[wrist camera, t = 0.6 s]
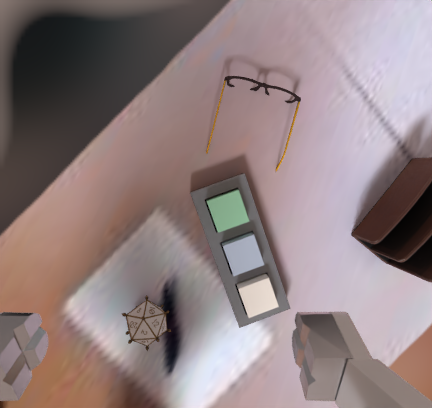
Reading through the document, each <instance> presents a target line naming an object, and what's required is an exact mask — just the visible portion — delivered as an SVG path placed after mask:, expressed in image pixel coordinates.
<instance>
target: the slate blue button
mask: <svg viewBox="0 0 432 408" xmlns="http://www.w3.org/2000/svg"><path fill="white" fill-rule="evenodd" d="M221 243H222V245H223V248H224V251H225V254H226V257H227V259H228V262H229V265H230V268H231V271H232V273H233V276H236V275H239V274H241V273H244V272H247V271H249V270H252V269H255V268H257V267H260V266H263V265H264V262H263V259H262V256H261V254H260V251H259V248H258V245H257V242H256V239H255V236H254V234H253V233H252V232H248V233H245V234H243V235H240V236H237V237H234V238H232V239H229V240H226V241H223V242H221Z"/></svg>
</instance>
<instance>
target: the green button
mask: <svg viewBox="0 0 432 408" xmlns="http://www.w3.org/2000/svg"><path fill="white" fill-rule="evenodd" d="M206 201H207V204H208V207H209V209H210V212H211V215H212V218H213V220H214V223H215V226H216V229H217V231H218V233H219V232H222V231H224V230H227V229H230V228H233V227H235V226H238V225H241V224H244V223H246V222H249V219H248V216H247V213H246V210H245V207H244V204H243V201H242V198H241V195H240V193H239V190H237V189H235V190H232V191H230V192H227V193H224V194H221V195H219V196H216V197H213V198H210V199H207V200H206Z"/></svg>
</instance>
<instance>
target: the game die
mask: <svg viewBox="0 0 432 408" xmlns="http://www.w3.org/2000/svg"><path fill="white" fill-rule="evenodd" d="M145 299H146V301H144V302H143V303H142V304H140V305H139V306H136V308H135V309H133V310H132V311H131V312H129V313H128V314H126V313H122V315H123V316H126V319H127V324H128V330H129V331H127V332H126V334H130V337H131V340H129V341H128V344H129V343H131V342H132V341H135V342H138V343H140V344H143V345H146V350H147V351H148V349H149V347H148V346H149V345H150V344H151V343H152V342H154V341H155V340H156V341H157V342H159V340H160V339H159V337H160V336H161V335H162V334H163V333H165V332H166V331H168V332H171V330H170V329H167V322H166V314H168V313H169V311H166V312H164V311H163V309H162V307H163V305H161V306H160V307H159V306H158V305H156V304H154V303H152V302H150V301H149V300H148V296H146V297H145Z"/></svg>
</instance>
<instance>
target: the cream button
mask: <svg viewBox="0 0 432 408" xmlns="http://www.w3.org/2000/svg"><path fill="white" fill-rule="evenodd" d="M236 284H237V287H238V290H239V293H240V296H241V298H242V301H243V304H244V307H245V309H246V312H247V315H248V317H249V318H251V317H253V316H256V315H259V314H261V313H264V312H266V311H269V310H272V309H274V308H277V307H279V306H278V303H277V300H276V297H275V294H274V291H273V288H272V286H271V283H270V280H269V277H268V276H267V275H266V273H263V274H261V275H258V276H255V277H253V278H250V279H247V280H245V281H242V282H239V283H236Z"/></svg>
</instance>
